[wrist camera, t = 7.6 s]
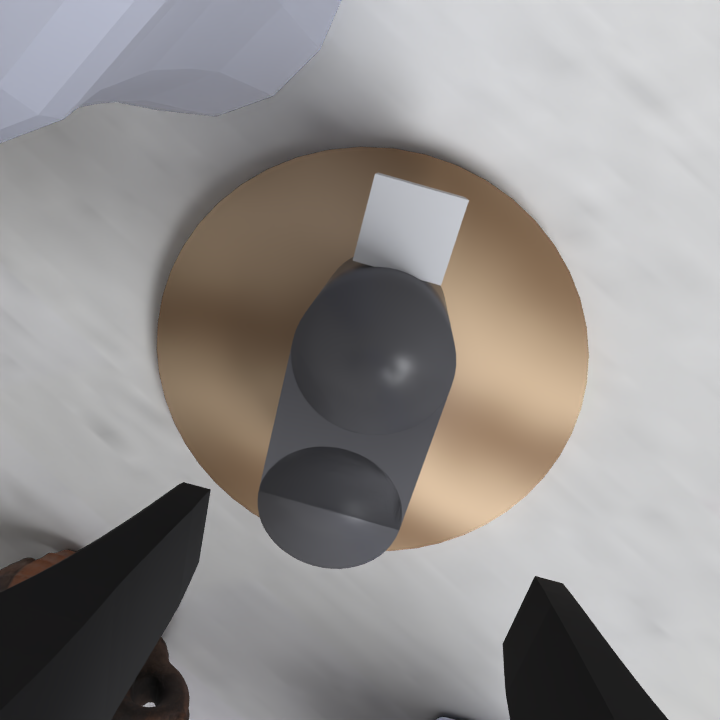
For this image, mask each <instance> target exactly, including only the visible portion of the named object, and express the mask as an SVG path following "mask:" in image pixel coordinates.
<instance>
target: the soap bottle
mask: <svg viewBox="0 0 720 720" xmlns="http://www.w3.org/2000/svg"><path fill="white" fill-rule="evenodd" d="M340 3H341V0H0V143H2V142H5V141H7V140H10V139H13V138H15V137H18V136H20V135H23V134H26V133H28V132H31V131H34V130H36V129H39V128H42V127H44V126H47V125H49V124H52V123H55V122H57V121H60V120H63V119H64V118H66V117H67V116H68V115H69V114H70V113H72V112H73V111H74V110H75V109H77V108H78V107H82V106H88V105H93V104H98V103H110V102H119V103H124V104H129V105H134V106H140V107H145V108H150V109H155V110H162V111H171V112H181V113H190V114H199V115H208V116H219V115H221V114H224V113H227V112H230V111H233V110H235V109H238V108H241V107H244V106H247V105H249V104H252V103H255V102H258V101H261V100H263V99H266V98H269V97H272V96H273V95H274V94H275V93H276V92H277V91H279V90H280V89H281V88H282V87H283V86H284V85H285V84H286V83H287V82H288V81H289V80H290V79H291V78H292V77H293V76H294V75H295V74H296V73H297V72H298V71H299V70H300V69H301V68H302V67H303V66H304V65H305V64H306V63H307V62H308V61H309V60H310V59H311V58H312V57H313V56H314V55H315V54H316V53H317V52H318V51H319V50H320V48H321V46H322V44H323V41H324V39H325V37H326V35H327V32H328V30H329V28H330V26H331V23H332V21H333V19H334V16H335V14H336V12H337V10H338V7H339V5H340Z"/></svg>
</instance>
